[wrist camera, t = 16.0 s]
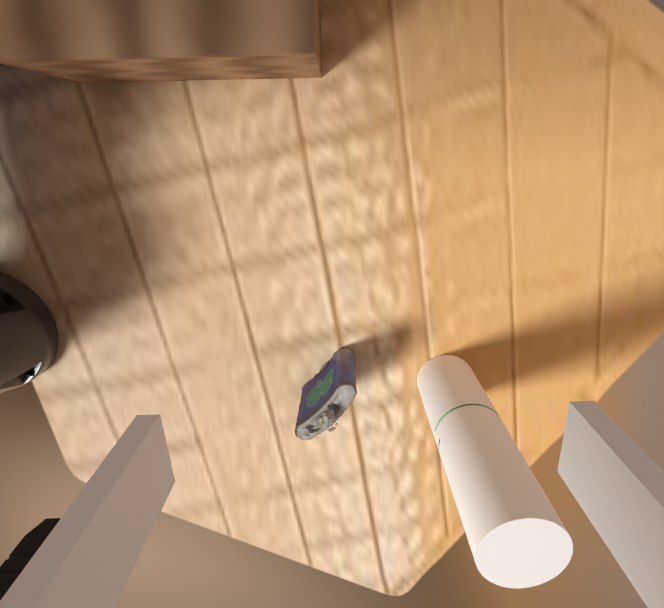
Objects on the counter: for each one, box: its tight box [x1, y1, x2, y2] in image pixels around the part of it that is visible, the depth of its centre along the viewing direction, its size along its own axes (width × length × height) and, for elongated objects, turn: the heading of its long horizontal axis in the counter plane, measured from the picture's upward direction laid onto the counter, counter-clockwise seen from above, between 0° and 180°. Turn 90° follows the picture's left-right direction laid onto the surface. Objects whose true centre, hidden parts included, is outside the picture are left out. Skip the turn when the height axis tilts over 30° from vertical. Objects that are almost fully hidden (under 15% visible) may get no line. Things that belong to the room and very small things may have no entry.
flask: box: [295, 347, 357, 440], centre depth 50 cm, size 9×3×11 cm, turn 139°
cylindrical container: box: [417, 355, 573, 588], centre depth 44 cm, size 7×7×25 cm
